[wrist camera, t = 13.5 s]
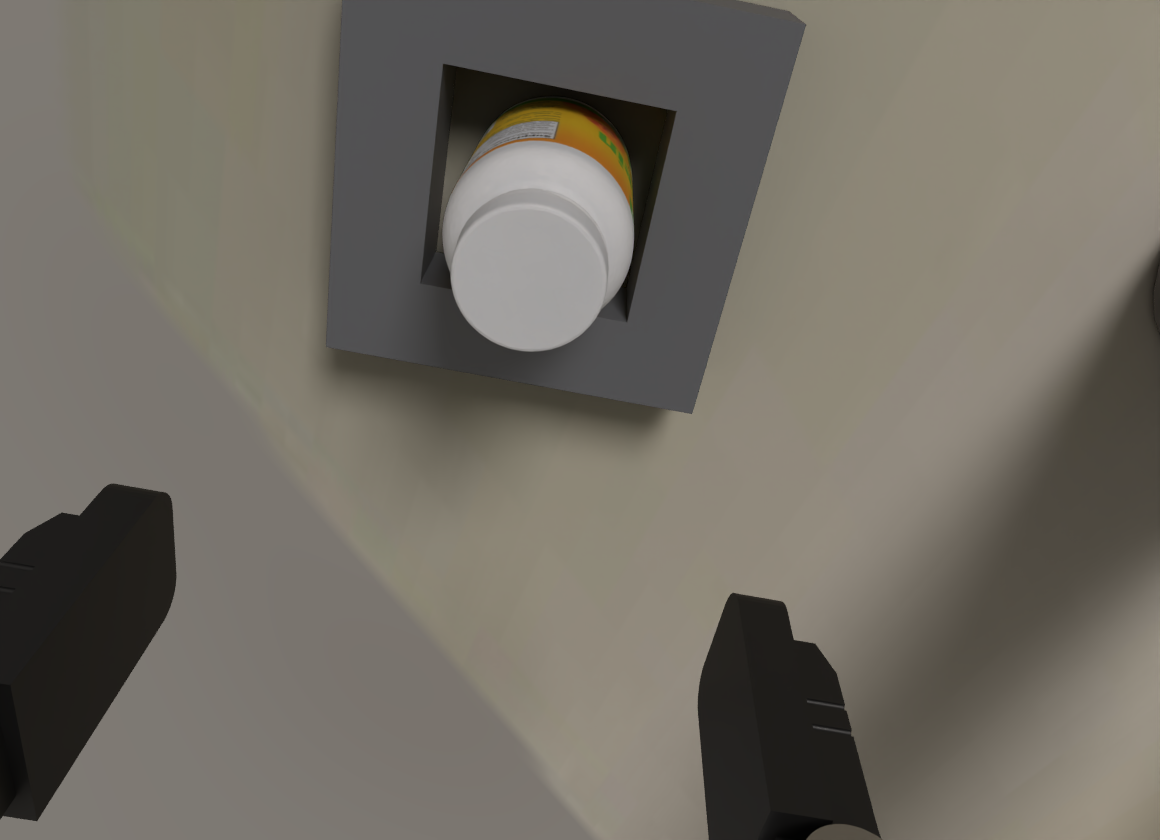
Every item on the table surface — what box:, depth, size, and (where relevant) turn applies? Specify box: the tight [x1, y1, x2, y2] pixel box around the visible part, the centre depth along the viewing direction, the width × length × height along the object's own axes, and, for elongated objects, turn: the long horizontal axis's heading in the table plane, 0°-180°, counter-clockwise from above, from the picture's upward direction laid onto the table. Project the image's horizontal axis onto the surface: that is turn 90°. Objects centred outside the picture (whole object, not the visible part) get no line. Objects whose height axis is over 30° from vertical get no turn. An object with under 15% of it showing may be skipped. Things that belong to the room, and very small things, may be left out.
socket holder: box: [326, 0, 806, 414], centre depth 30 cm, size 13×13×3 cm
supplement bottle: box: [442, 96, 634, 352], centre depth 27 cm, size 5×5×10 cm
